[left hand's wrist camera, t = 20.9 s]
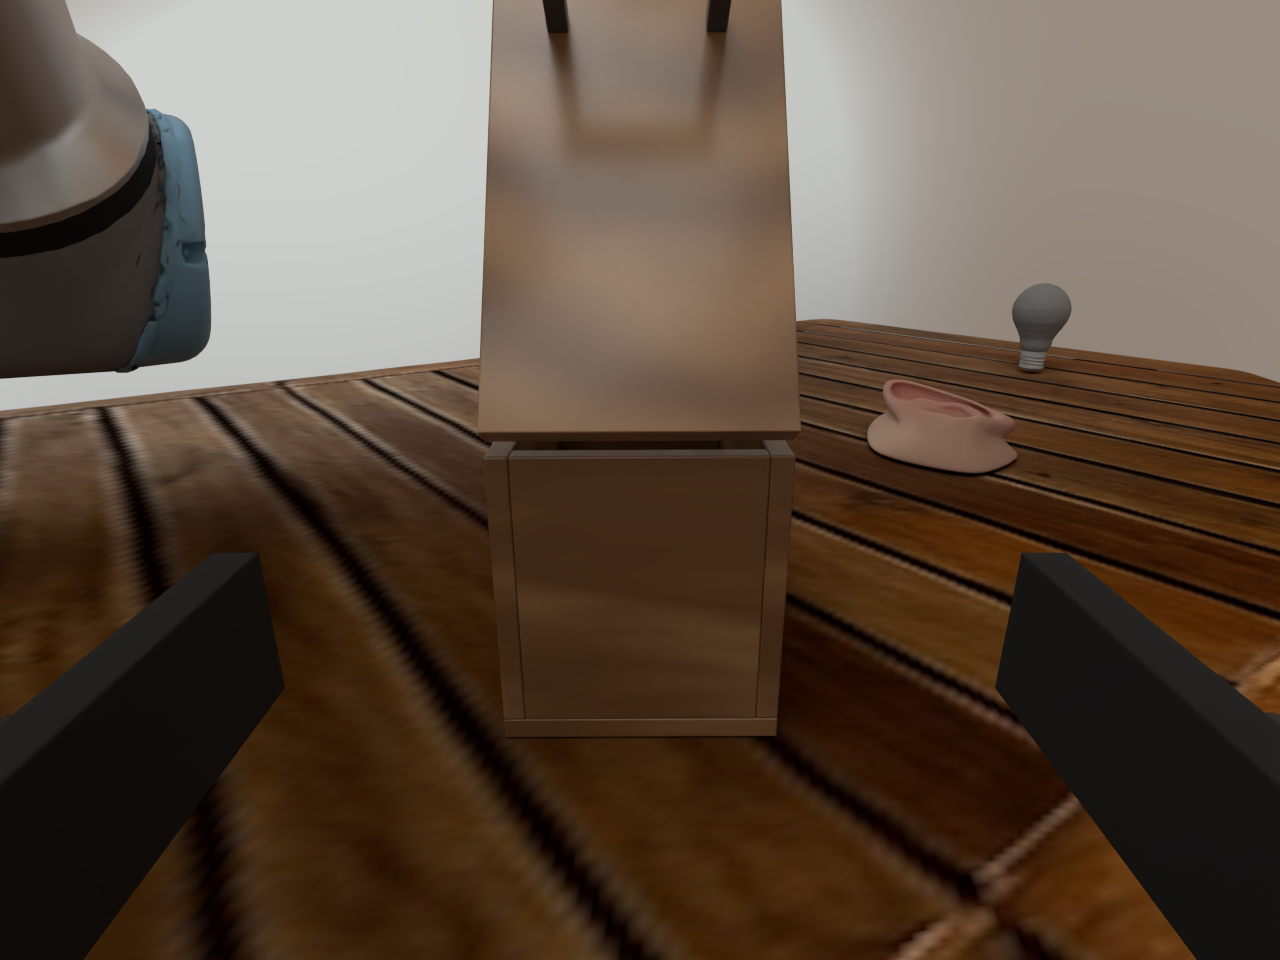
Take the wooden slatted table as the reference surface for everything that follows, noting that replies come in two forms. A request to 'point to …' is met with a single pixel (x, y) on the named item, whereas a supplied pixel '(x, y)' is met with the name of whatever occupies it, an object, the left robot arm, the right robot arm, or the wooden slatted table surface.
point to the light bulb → (1039, 321)
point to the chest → (640, 585)
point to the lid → (638, 224)
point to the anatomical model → (940, 430)
